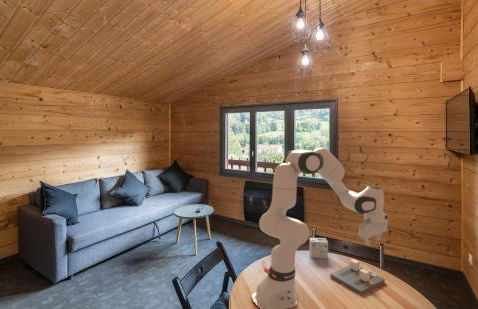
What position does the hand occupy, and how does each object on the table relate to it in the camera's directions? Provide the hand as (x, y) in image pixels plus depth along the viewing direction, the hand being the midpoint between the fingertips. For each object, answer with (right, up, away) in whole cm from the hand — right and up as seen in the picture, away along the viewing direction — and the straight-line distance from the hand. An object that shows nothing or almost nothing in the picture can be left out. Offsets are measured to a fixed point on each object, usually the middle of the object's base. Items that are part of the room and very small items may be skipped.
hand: (372, 242), depth 134 cm
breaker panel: (-8, -20, +1) cm, 22 cm away
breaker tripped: (-6, -18, -2) cm, 19 cm away
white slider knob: (-6, -18, +8) cm, 20 cm away
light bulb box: (-20, -19, +28) cm, 39 cm away
